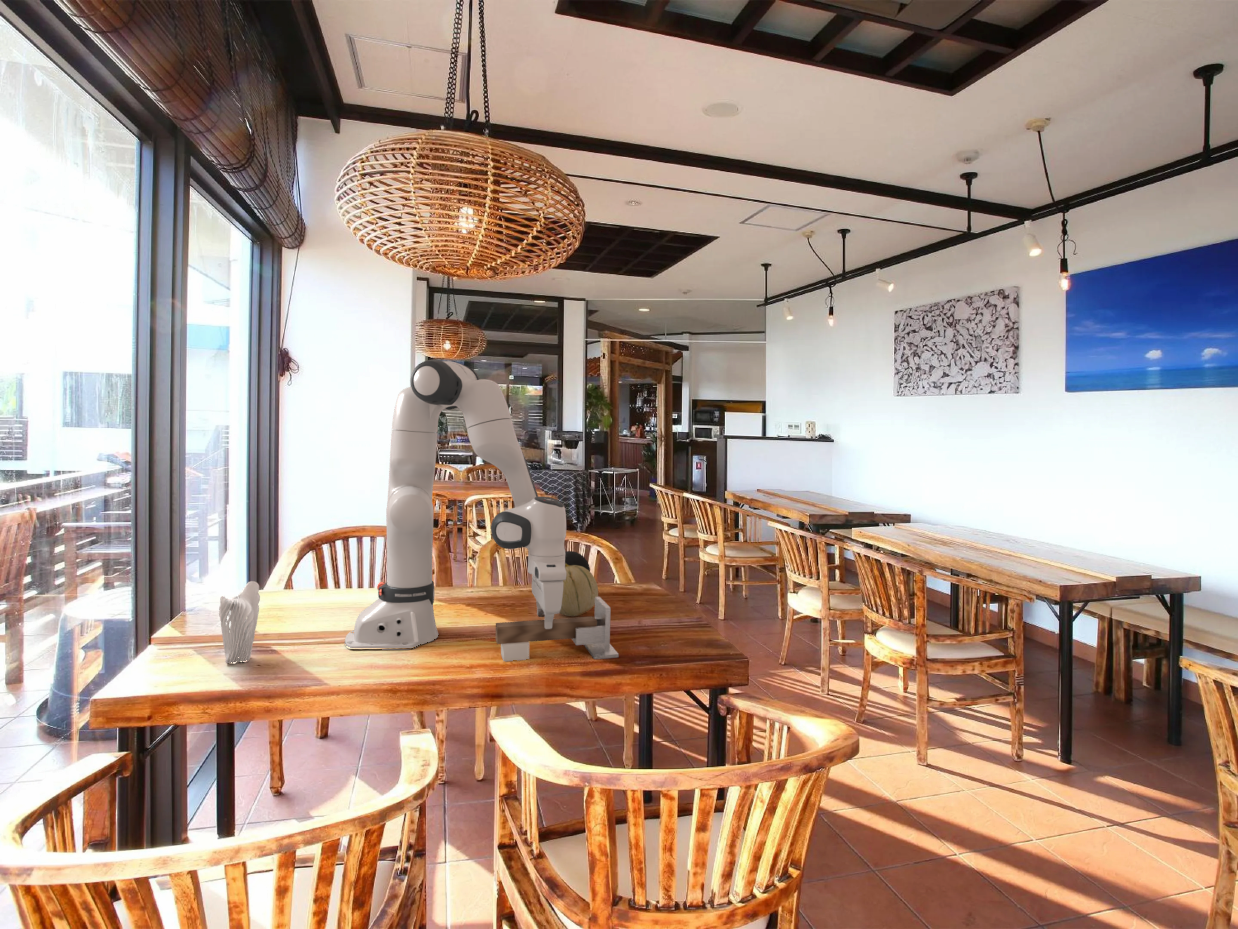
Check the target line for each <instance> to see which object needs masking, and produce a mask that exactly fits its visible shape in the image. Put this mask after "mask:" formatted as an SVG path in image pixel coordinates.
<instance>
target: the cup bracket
mask: <svg viewBox="0 0 1238 929" xmlns="http://www.w3.org/2000/svg"><path fill="white" fill-rule="evenodd" d="M594 618H595V619H596V620H597V626H590V627H576V628H575V638H573V639H571V641H573V643H574V644H575V646H582V645H583V646H584V647H585V649H586V650H587V651H588V653H589V654H590V655H591V657H592V658H593V659H594V660H603V659H604V660H605V659H615V658H619V652H618V651H617V650H616V649H615V648H614V647H613V645H612V644H611V606H609V605H608V604H607V602H606V601H605V600H603V599H602V597H601V596H598V597H595V605H594Z"/></svg>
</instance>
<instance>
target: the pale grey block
mask: <svg viewBox="0 0 1238 929" xmlns="http://www.w3.org/2000/svg"><path fill="white" fill-rule="evenodd" d="M500 655H501V658H502V661H503V662H504V661H505V662H514V661H513V660H517V661H525V660H526V659H529V660H530V642H520V643H507V644H500ZM526 661H527V660H526Z"/></svg>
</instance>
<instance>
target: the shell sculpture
mask: <svg viewBox="0 0 1238 929" xmlns="http://www.w3.org/2000/svg"><path fill="white" fill-rule="evenodd" d="M259 591H260V584H259V583H258V582H257V581H255V580H251V581H248V582H247V583H246V585H245V586H244V587H243V589H242V590H241V592H240V593H239V594H238V595H236V596H234V597H225V595H224V596H223V595H222V596H220V600H219V602H220V603H219V608H218V610H219V611H218V612H219V613H218V616H219V620H220V628H221V634H222V644H223V649H224V656H225V663H226V664H227V663H231V662H232V663H233V662H236V661H237V662H238V661H239V662H240V661H242V662H243V661H246V660H247V662H249V661H248V660H250V659H251V655H252V649H253V645H254V640H255V635H256V628H257V625H258V618H259V613H260V612H259V611H260V605H259V603H260V600H261V595H260V593H259ZM238 657H239V658H238Z"/></svg>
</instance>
